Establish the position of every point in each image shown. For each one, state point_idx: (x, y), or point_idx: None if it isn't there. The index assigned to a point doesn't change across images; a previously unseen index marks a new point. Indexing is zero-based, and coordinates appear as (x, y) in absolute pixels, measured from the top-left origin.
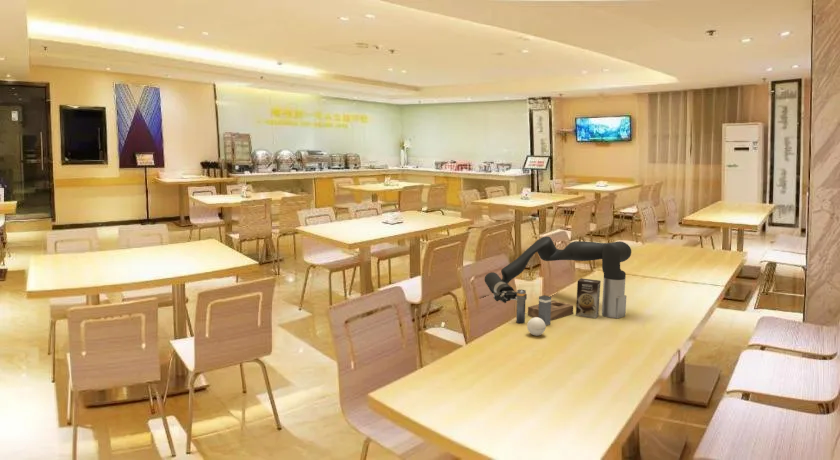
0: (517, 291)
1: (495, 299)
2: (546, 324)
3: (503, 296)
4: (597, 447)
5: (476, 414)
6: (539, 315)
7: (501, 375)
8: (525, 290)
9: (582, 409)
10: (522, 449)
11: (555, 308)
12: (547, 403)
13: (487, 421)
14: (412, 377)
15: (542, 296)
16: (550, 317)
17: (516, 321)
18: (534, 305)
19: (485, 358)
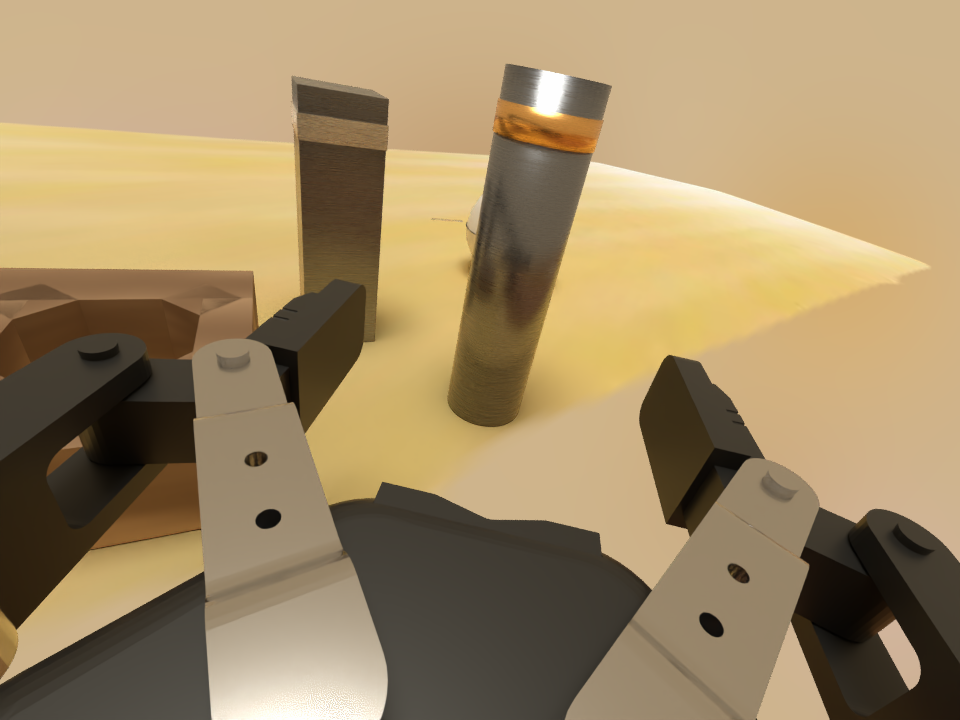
0: (608, 96)
1: (896, 678)
2: (452, 220)
3: (724, 440)
4: (596, 163)
5: (731, 206)
6: (375, 274)
7: (691, 224)
8: (507, 64)
9: None
10: (675, 181)
11: (28, 287)
12: (623, 186)
13: (715, 199)
14: (895, 272)
15: (357, 92)
16: (299, 264)
17: (519, 406)
18: (79, 438)
19: (734, 259)
